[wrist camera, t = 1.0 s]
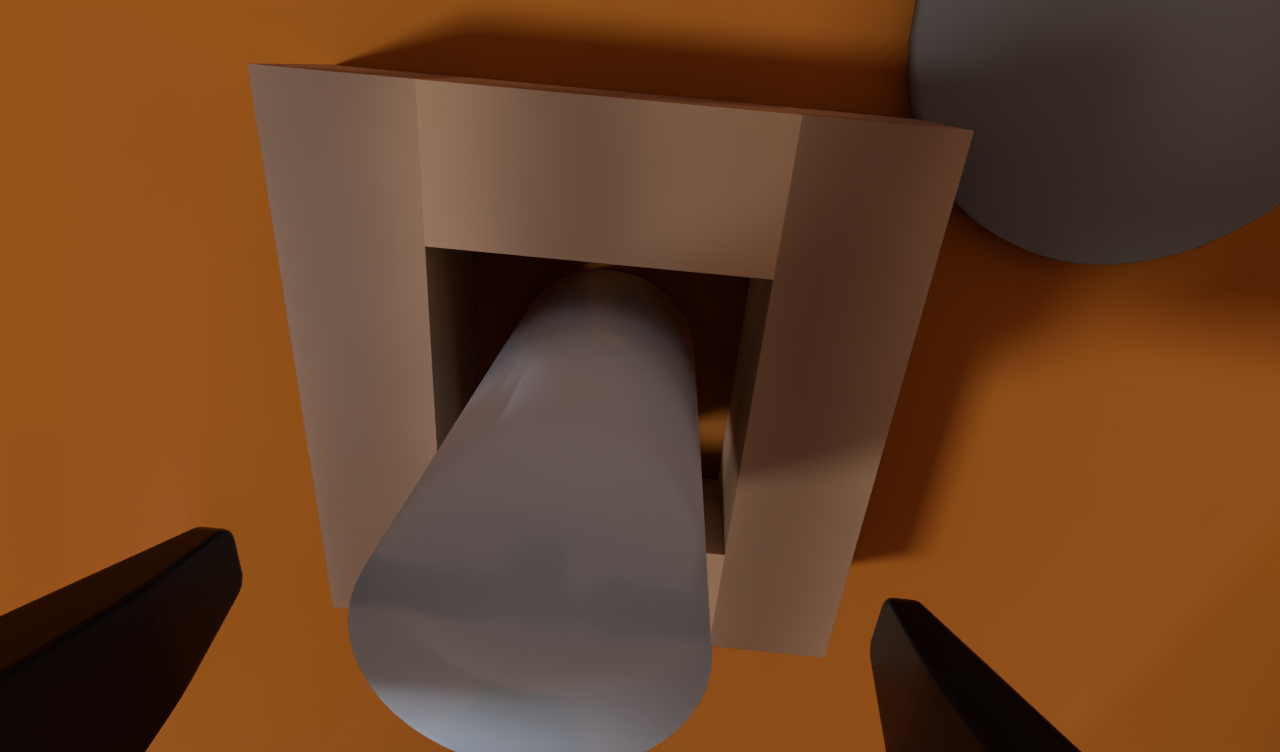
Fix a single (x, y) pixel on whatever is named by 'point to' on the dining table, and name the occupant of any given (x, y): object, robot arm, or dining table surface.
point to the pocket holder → (621, 235)
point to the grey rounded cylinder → (554, 541)
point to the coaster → (1105, 118)
